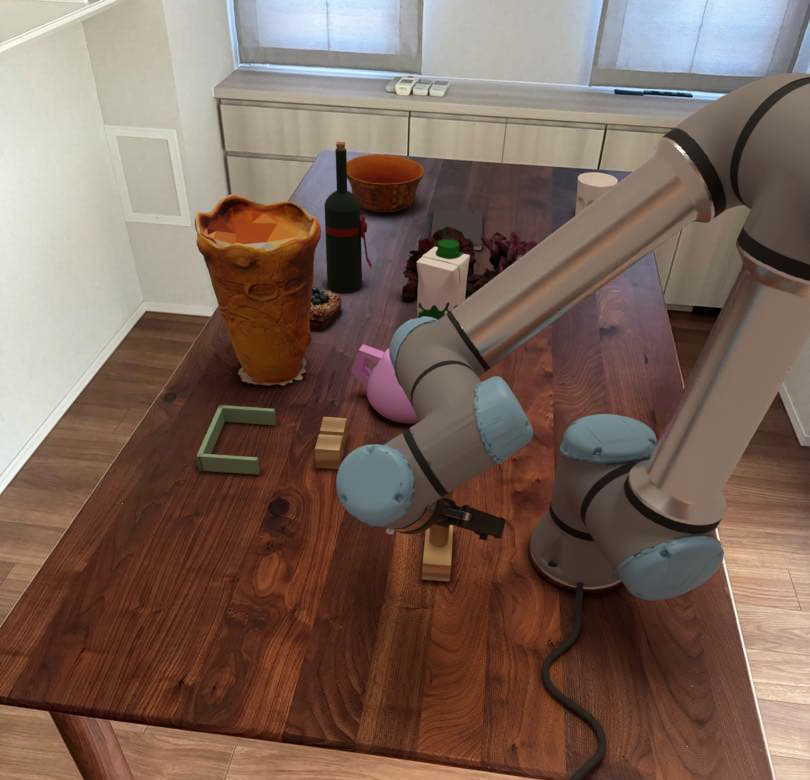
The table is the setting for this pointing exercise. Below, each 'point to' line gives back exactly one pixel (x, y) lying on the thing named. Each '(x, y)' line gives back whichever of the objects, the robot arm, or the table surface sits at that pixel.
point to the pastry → (323, 309)
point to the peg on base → (438, 551)
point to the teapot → (383, 386)
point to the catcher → (222, 415)
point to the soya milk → (441, 279)
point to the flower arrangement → (500, 258)
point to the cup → (592, 188)
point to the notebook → (460, 224)
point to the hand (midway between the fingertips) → (437, 515)
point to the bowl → (384, 181)
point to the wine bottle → (344, 233)
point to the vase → (262, 282)
